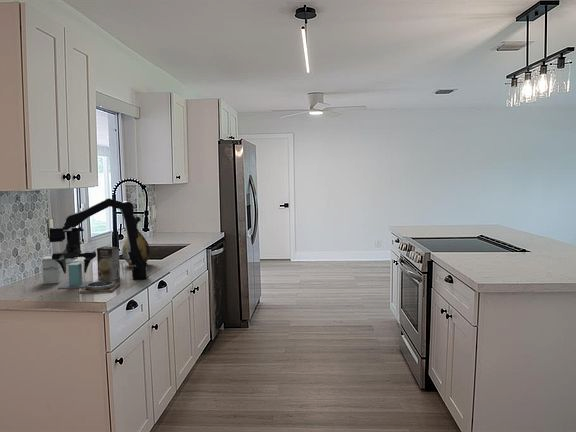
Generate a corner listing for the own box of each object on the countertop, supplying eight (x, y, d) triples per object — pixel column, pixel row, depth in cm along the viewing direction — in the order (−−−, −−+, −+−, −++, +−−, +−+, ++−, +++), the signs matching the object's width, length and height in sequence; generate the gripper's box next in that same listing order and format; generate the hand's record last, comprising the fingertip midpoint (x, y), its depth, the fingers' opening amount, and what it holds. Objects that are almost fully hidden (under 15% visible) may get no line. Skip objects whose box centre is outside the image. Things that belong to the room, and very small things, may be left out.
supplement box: (42, 284, 223) (41, 258, 222) (46, 281, 230) (44, 256, 229) (59, 283, 225) (57, 257, 224) (62, 279, 232) (60, 255, 231)
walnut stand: (119, 284, 221) (119, 282, 221) (112, 292, 207) (112, 290, 207) (89, 285, 219) (89, 283, 219) (79, 293, 205) (79, 291, 205)
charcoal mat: (92, 282, 227) (92, 281, 227) (84, 288, 215) (84, 287, 215) (67, 282, 226) (67, 281, 226) (57, 288, 214) (57, 287, 214)
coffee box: (97, 279, 233) (95, 248, 231) (105, 276, 239) (104, 246, 237) (112, 280, 230) (111, 248, 229) (120, 277, 236) (119, 246, 235)
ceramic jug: (129, 263, 275) (127, 213, 272) (154, 263, 274) (152, 213, 271) (116, 268, 258) (114, 216, 256) (143, 269, 257) (141, 216, 254)
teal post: (82, 283, 223) (81, 262, 222) (79, 285, 218) (78, 264, 217) (72, 283, 222) (71, 263, 221) (69, 285, 218) (68, 264, 217)
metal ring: (117, 285, 220) (117, 280, 220) (110, 291, 208) (110, 286, 207) (91, 286, 218) (90, 281, 218) (82, 292, 206) (82, 287, 206)
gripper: (45, 244, 209) (47, 277, 211) (88, 242, 211) (90, 276, 213) (55, 240, 220) (57, 272, 222) (95, 239, 222) (97, 271, 224)
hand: (75, 273), depth 220 cm, fingers open, 9 cm apart
